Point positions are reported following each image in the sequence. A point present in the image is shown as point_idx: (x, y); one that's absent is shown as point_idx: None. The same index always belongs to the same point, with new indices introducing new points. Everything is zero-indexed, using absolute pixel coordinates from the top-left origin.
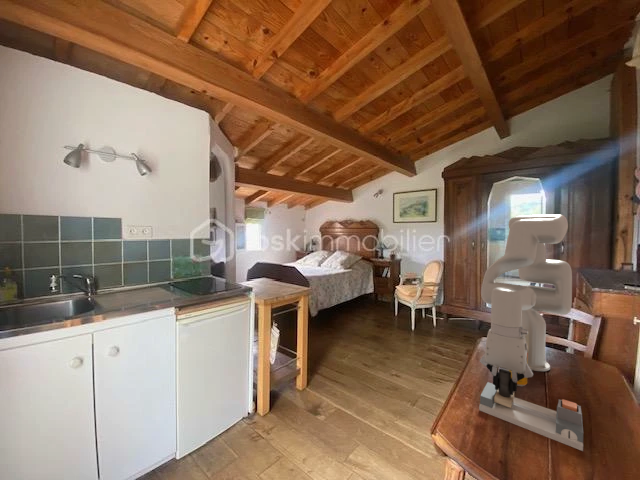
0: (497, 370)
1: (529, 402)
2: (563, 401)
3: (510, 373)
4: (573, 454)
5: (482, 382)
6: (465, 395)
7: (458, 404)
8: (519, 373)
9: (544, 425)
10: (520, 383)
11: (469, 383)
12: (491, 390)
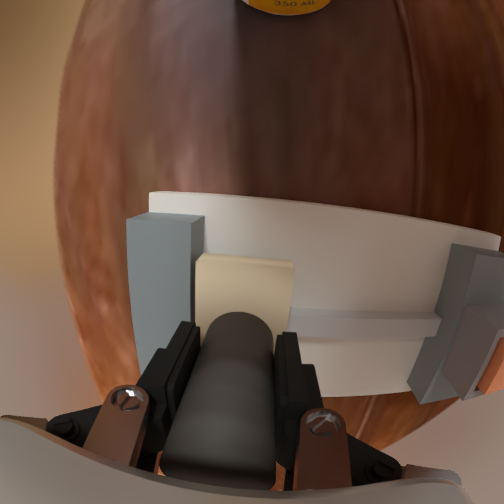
0: (143, 426)
1: (362, 214)
2: (500, 369)
3: (269, 487)
4: (414, 400)
5: (126, 97)
6: (94, 289)
7: (105, 364)
8: (355, 484)
9: (385, 370)
10: (308, 9)
11: (80, 160)
12: (168, 322)
